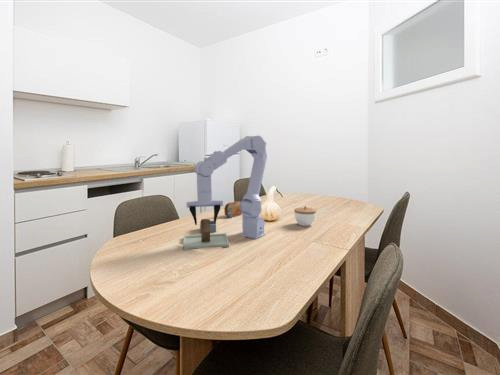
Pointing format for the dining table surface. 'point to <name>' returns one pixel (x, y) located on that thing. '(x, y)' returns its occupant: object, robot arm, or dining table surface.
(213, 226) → the grey square socket
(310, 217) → the lidded jar
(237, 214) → the tin
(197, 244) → the tray
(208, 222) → the dowel
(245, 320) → the dining table surface
